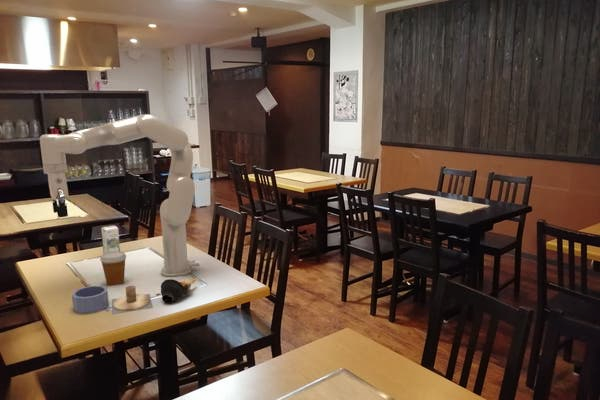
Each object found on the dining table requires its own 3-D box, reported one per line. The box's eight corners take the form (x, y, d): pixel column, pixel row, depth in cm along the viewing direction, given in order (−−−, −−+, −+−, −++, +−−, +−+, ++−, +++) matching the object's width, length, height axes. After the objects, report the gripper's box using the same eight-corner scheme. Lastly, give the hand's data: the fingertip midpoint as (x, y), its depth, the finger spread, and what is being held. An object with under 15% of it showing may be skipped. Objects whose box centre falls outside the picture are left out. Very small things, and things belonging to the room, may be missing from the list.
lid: (148, 294, 166) (147, 279, 165) (151, 307, 155) (149, 291, 154) (113, 299, 162) (111, 283, 160) (113, 313, 151) (112, 296, 150)
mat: (149, 295, 167) (149, 293, 167) (152, 309, 155) (152, 307, 155) (111, 301, 162) (111, 299, 162) (112, 315, 150) (111, 314, 150)
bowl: (108, 299, 163) (107, 283, 162) (108, 311, 153) (107, 295, 152) (75, 304, 159) (73, 288, 158) (72, 317, 149) (70, 300, 148)
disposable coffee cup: (109, 290, 172) (106, 260, 169) (98, 283, 178) (95, 254, 176) (132, 283, 179) (130, 254, 176) (121, 277, 185) (119, 249, 183)
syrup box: (115, 254, 215) (113, 224, 212) (120, 257, 210) (118, 227, 208) (103, 257, 211) (100, 227, 208) (108, 260, 207) (105, 229, 204)
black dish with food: (149, 293, 157) (168, 262, 172) (167, 316, 161) (184, 283, 177) (171, 286, 154) (188, 255, 169) (188, 309, 158) (203, 276, 174)
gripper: (71, 170, 159) (76, 217, 163) (62, 165, 173) (67, 209, 176) (47, 171, 155) (52, 220, 158) (40, 167, 169) (45, 211, 172)
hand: (60, 214), depth 167 cm, fingers open, 9 cm apart
